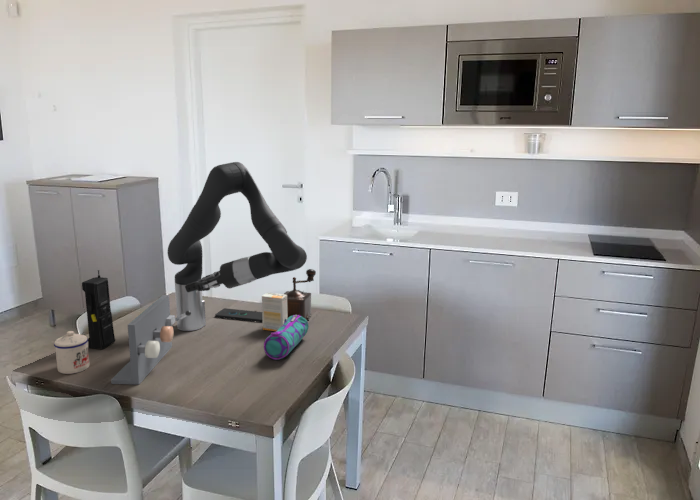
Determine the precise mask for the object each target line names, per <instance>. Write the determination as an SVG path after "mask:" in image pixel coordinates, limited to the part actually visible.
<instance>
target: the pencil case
mask: <svg viewBox="0 0 700 500" xmlns="http://www.w3.org/2000/svg"><path fill="white" fill-rule="evenodd" d="M308 331H309V323H308V320H306V319H304V318H303V317H302V316H299V315H293V316H290V317H288V318H287V320H286V319H285V320H284V324H283V326H281V327H280V328H279V329H278V330H277V331H274V332H273V331H271V332H270V335H268V336H267V337H266V338H265V340H264V341H263V350H264V353H265V355H266V356H267V357H268V358H270V359H271V360H274V361H279V360H282V359H284V358H285V357H287V356H288V355H289V354H290V353H291V352H292V351H293V350H294V349H295V347H296V346H298V345H299V343H300V342H301V341H302V339H303V338H304V337H305V336H306V335H307V333H308Z"/></svg>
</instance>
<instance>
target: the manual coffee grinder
mask: <svg viewBox="0 0 700 500" xmlns="http://www.w3.org/2000/svg"><path fill="white" fill-rule="evenodd" d="M305 274H306V275H307V279H306V280H297V277H295V276H294V277H292V283H293V284H292V285H293V287H292V290H287V291H285V292H284V293H283V294H284V295H287V313H288V317H290V316H293V315H299V316H302V317H303V318H304V319H306V320H307V321H309V320H308V319H310V318H311V317H310V315H311V316H312V293H311V292H305V291H304V290H303V291H301V290H300V289H297V285H296V284H301V283H311V282H314V277H315V276H316V274H317V273H316V270H315V269H313V268H308V269H307V270H306V271H305Z"/></svg>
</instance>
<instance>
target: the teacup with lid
mask: <svg viewBox="0 0 700 500" xmlns="http://www.w3.org/2000/svg"><path fill="white" fill-rule="evenodd" d="M88 338H89V337H88V336H86V335H84V334H81V333H80V334H79V333H75V331H73V330H69V331H66V333H65V335H63V336H61V337H59V338H56V339H55V341H54V343H53V346H54V348H55V358H56V367H57V371H58V373H60V374H63V375H65V374H67V375H72V374H77V373H80V372H83V371H85V370H87V369H89V367H90V354H89V347H88Z"/></svg>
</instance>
